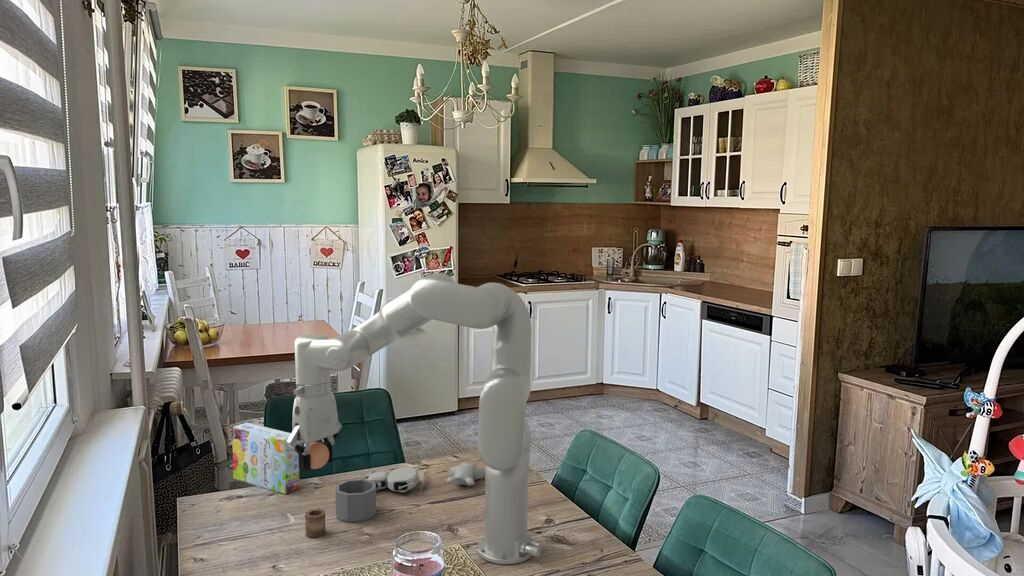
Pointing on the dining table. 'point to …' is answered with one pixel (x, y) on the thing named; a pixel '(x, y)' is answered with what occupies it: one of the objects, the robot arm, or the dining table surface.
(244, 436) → the snack box
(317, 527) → the stand
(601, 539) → the dining table surface
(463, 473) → the bunny figurine
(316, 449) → the ball
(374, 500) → the grey octagonal pot
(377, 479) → the robot toy
